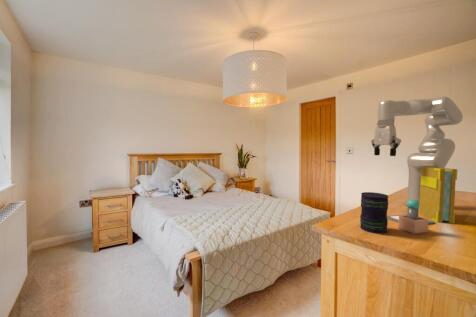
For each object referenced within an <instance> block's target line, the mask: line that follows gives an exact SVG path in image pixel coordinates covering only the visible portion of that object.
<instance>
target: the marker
mask: <svg viewBox="0 0 476 317" xmlns="http://www.w3.org/2000/svg"><path fill="white" fill-rule="evenodd" d="M406 202H407V205H406V206H407V207H406V208H407V210H406V211H407V218H409V219H412V220H418V217H419V201H417V200H408V199H407V201H406Z"/></svg>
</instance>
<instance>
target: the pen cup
mask: <svg viewBox="0 0 476 317" xmlns="http://www.w3.org/2000/svg"><path fill="white" fill-rule="evenodd" d="M400 215H401V216H399V223H398V229H399V230H402V231H405V232H407V233H410V234H412V235H420V234H427V233H429V232H428V229H429V224H428V220H429V218H424V217H421V216H418V220H412V219H409V218H407V215H404V214H400Z"/></svg>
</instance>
